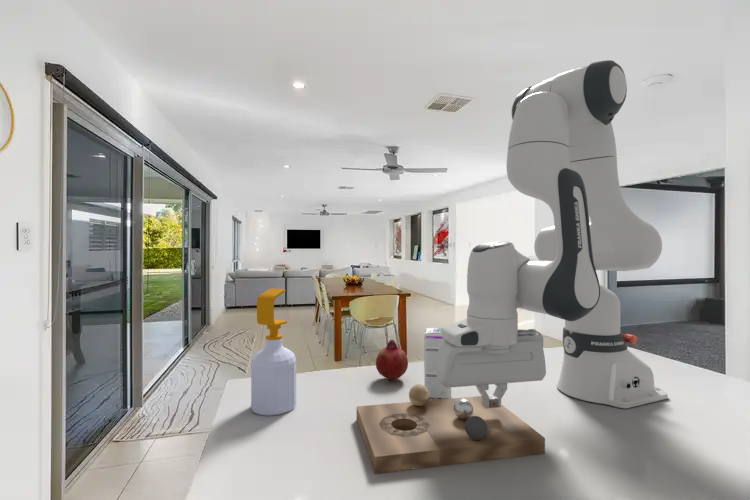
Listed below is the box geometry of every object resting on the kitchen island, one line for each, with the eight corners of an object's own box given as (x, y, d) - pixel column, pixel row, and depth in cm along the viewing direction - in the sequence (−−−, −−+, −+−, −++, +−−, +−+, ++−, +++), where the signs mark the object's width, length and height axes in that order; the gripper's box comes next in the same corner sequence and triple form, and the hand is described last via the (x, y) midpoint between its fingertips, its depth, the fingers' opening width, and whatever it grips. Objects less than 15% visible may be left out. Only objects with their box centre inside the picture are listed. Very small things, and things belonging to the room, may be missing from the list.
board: (489, 407, 79) (489, 395, 79) (544, 453, 61) (544, 437, 61) (356, 419, 73) (356, 406, 73) (374, 473, 56) (374, 456, 56)
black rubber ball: (481, 432, 63) (481, 411, 63) (491, 443, 60) (491, 420, 60) (461, 434, 62) (461, 413, 62) (470, 445, 59) (470, 422, 59)
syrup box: (451, 399, 83) (451, 333, 83) (423, 397, 84) (423, 332, 84) (451, 390, 88) (451, 328, 88) (425, 388, 90) (425, 326, 89)
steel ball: (468, 413, 70) (468, 394, 70) (476, 422, 67) (476, 402, 67) (450, 415, 69) (450, 396, 69) (458, 424, 66) (458, 404, 66)
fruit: (413, 378, 97) (413, 338, 97) (398, 387, 90) (398, 345, 90) (386, 372, 101) (386, 334, 101) (369, 381, 94) (369, 341, 94)
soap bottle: (304, 402, 81) (304, 288, 81) (276, 420, 73) (276, 292, 73) (271, 395, 85) (271, 286, 85) (241, 411, 77) (241, 290, 77)
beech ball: (425, 400, 76) (425, 380, 76) (432, 409, 72) (432, 388, 72) (406, 402, 75) (406, 382, 75) (412, 410, 71) (412, 389, 71)
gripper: (532, 325, 74) (532, 395, 74) (433, 329, 70) (432, 404, 70) (553, 332, 68) (553, 409, 68) (446, 337, 64) (446, 419, 64)
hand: (491, 406), depth 69 cm, fingers closed
